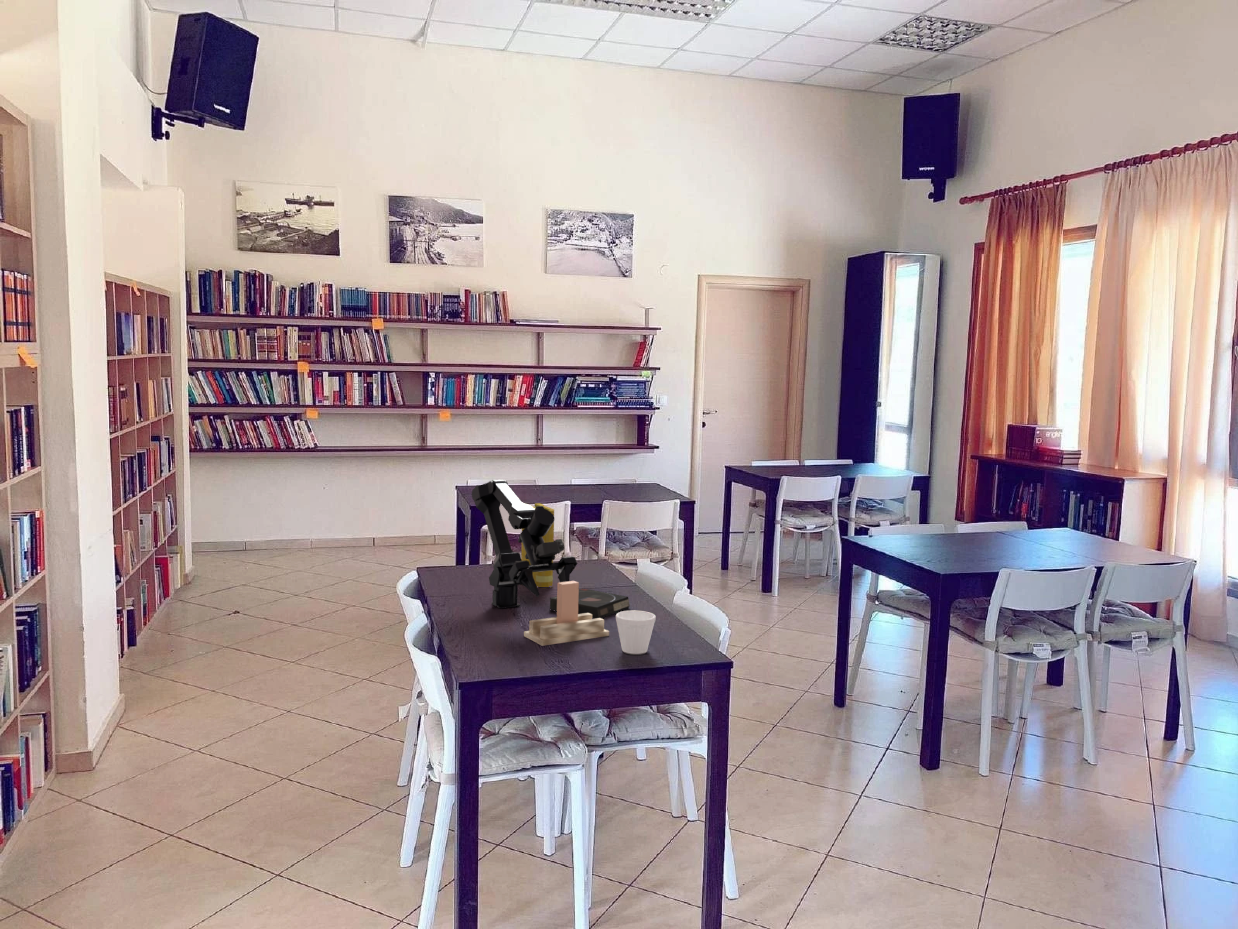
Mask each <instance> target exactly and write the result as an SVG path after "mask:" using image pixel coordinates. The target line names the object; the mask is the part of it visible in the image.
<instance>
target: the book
mask: <svg viewBox="0 0 1238 929" xmlns="http://www.w3.org/2000/svg"><path fill="white" fill-rule="evenodd" d="M529 505H530V506H532V507H533V508H534V509H535V508H536V506H543V507H544V509H546V510H548V511H550V512H551V513H552V514H553V515H554V516H555V508H552V507H548V506H546V505H544V504H543V503H534V506H533V505H531V504H529ZM523 530H524V529H521V532H522V531H523ZM554 534H555V521H554V522H553V524H552V526H551V527H550V529H549V530H548V532H547V534H546V535H545V536H542V537H543V540H544V542H554V541H555V540H554V539H555V535H554ZM520 549H521V553H520V556H521V560H522V561H525V560H527V561H529V559H526V558H525V555H526V554H527V553H526V551H525V548H524V545H523V543H521V548H520ZM529 563H530V561H529ZM552 563H554V560H552ZM530 565H531V564H530ZM553 574H554V570H552V571H542V572H533V578H534V580H535V583H536V585H537V586H538V587H549V586H552V585H553V581H554V579H553V577H554V575H553ZM552 587H553V586H552Z"/></svg>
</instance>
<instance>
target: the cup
mask: <svg viewBox="0 0 1238 929" xmlns="http://www.w3.org/2000/svg"><path fill="white" fill-rule="evenodd" d="M615 614H616V615H615V622H616V628H617V631H618V636H619V641H620V645H621V646H620V647H621V651H622V652H623V653H624V654H626V655H630V656H641V655H645V654H646V653H647V652H648V648H649V646H650V645H649V644H650V641H651V637H652V633H653V629H654V625H655V623H656V620H657V619H656V618H657V617H656V615H655V614H654V613H652V612H648V611H645V610H634V609H633V610H623V611H620V612H617V613H615Z"/></svg>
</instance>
